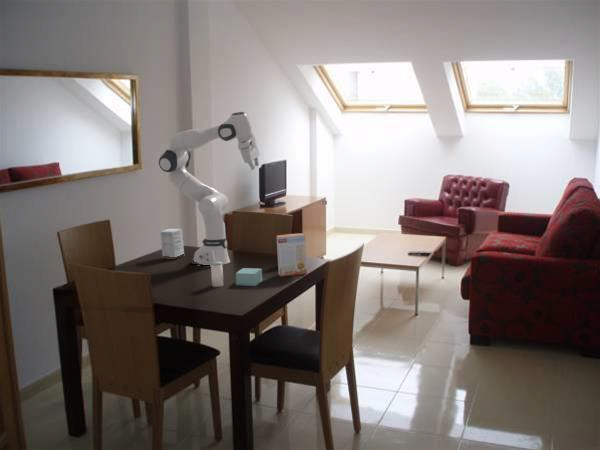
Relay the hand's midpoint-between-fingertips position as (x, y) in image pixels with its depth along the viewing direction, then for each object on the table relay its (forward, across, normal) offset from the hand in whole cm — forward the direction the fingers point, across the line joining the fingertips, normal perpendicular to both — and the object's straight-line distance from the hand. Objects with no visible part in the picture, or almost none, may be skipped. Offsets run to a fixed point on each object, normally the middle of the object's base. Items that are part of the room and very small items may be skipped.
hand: (255, 167), depth 349 cm
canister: (+46, +40, -25) cm, 66 cm away
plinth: (+50, +35, -10) cm, 62 cm away
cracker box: (+56, +19, +7) cm, 60 cm away
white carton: (+42, -18, -70) cm, 83 cm away
